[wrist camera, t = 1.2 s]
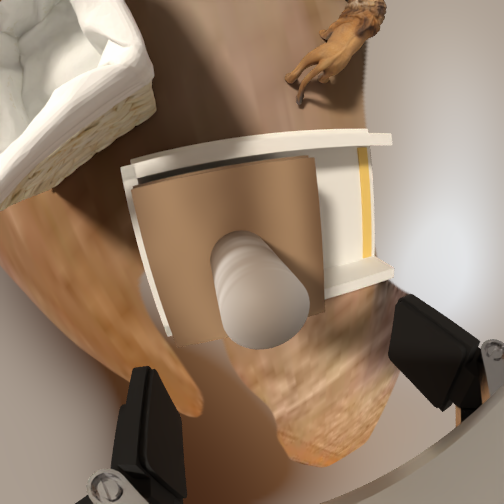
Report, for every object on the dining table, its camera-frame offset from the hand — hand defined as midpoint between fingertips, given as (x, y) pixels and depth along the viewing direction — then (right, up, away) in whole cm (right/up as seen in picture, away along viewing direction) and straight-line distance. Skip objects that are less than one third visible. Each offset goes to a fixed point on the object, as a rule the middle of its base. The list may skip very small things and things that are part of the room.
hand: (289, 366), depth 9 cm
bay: (+1, +8, +19) cm, 20 cm away
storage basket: (-21, +23, +9) cm, 32 cm away
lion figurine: (+6, +26, +14) cm, 30 cm away
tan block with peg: (-4, +6, +17) cm, 18 cm away
